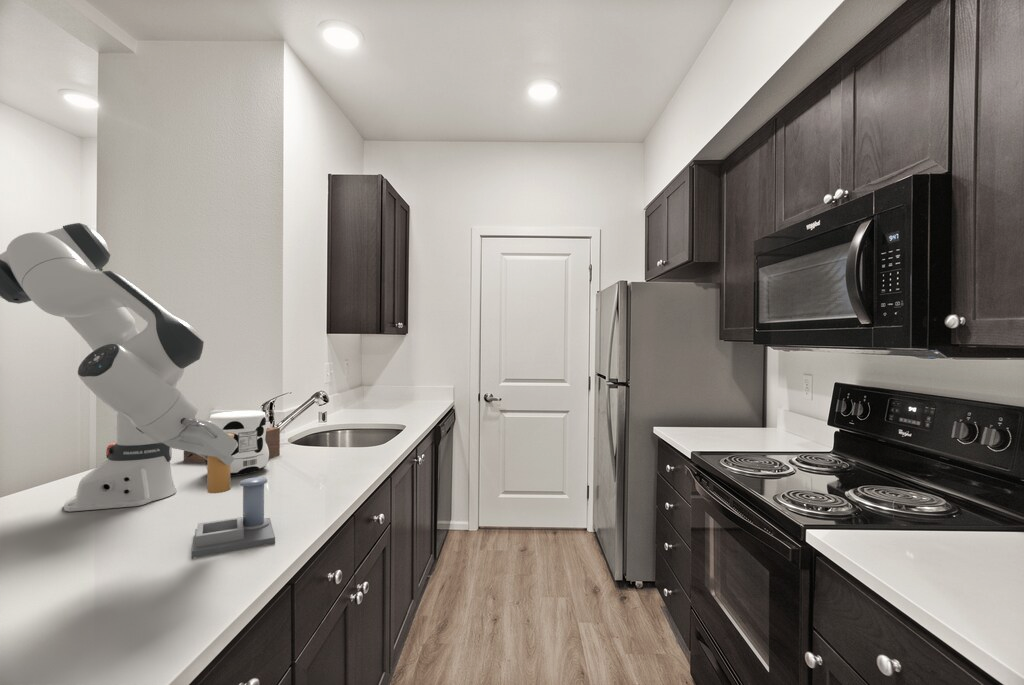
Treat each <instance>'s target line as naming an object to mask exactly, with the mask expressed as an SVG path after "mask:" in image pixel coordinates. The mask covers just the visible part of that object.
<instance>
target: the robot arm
mask: <svg viewBox="0 0 1024 685" xmlns="http://www.w3.org/2000/svg"><path fill="white" fill-rule="evenodd" d="M110 258H111V253H110V250H109V246H108V243H107V242H106V240H105V239H104V238H103V236H102V235H100V234H99V233H98V232H97V231H96V230H95V229H92V228H91V227H89V226H88V225H86V224H83V223H80V222H77V223H70V224H69V223H68V224H66V225H62V227H61V228H57V229H53V230H50V231H47V232H40V231H39V232H38V231H37V232H28V233H22V234H20V235H18V236H17V237H15V238H14V239H12V240H11V241H10V242H9V244H8V245H7V247H6V250H5V251H4V252H1V253H0V298H1V299H3V300H4V301H6V302H8V303H12V304H18V305H19V304H24V303H29V302H31V301H32V302H33V303H34V304H35V305H36V307H38V308H39V309H40V310H42V311H43V312H45V313H46V314H49V315H52V316H56V317H59V318H60V317H61V318H63V319H65V320H66V321H67V322H68V323H69V325H70V326H71V327H72V328H73V329H74V330H75V331H76V332H77V333H78V335H79V336H80V337H81V338H82V339H83V340H84V341H85V342H86V344H88V346H89V347H90V348H91V350H92V352H90V353H89V354H88V355H87V356H86V357H85V358H84V359H83V360H82V361H81V363H80V364H79V365H78V369H77V376H78V377H79V379H80V380H81V382H83V383H84V385H85V386H86V387H87V388H88V389H89V390H90V391H91V392H92V393H93V394H94V395H95V396H96V397H97V398H98V399H100V400H101V402H103V403H104V404H106V405H107V406H108V407H109V408H111V409H112V410H113V411H114V412H117V414H116V443H113V442H112V443H110V444H109V445H108V446H107V447H106V460H105V461H103V462H102V463H101V464H99V465H98V466H96V467H95V468H94V469H92V470H91V471H89V472H88V473H87V474H86V475H85V476H83V477H82V478H81V479H80V481H79V483H78V485H77V488H76V494H75V495H73V496H71V497H70V498H69V499H67V500H66V501H65V502H64V504H63V510H64V511H66V512H79V511H93V510H104V509H105V510H106V509H116V508H117V509H118V508H127V507H128V508H129V507H139V506H143V505H145V504H149V503H150V502H151V503H152V502H154V501H157V500H162V499H165V498H167V497H170V496H172V495H174V494H175V493H176V492H177V488H176V485H175V482H174V479H173V474H172V467H171V460H172V457H173V456H172V455H173V454H172V453H173V451H172V449H174V450H175V449H176V450H179V451H183V452H184V451H189V452H193V453H196V454H198V455H200V456H202V457H204V458H205V459H206V460H207V461H208V456H213V457H217V458H218V459H219V461H220V462H221V463H222V464H224V465H230V464H231V463H232V462H233V461H234V457H232V456H231V454H232V453H233V452H234V450H235V449H236V448H237V447H238V443H237V441H236V440H235V439H234V438H232V437H231V436H230V435H229V434H227V433H226V432H225V431H224V430H222V429H221V428H220V427H218V426H217V425H215V424H214V423H212V422H210V421H209V420H207V419H200V418H199V416H198V415H197V413H198V406H197V405H196V404H195V403H194V402H193V401H192V400H191V399H189V398H188V397H187V396H186V395H185V394H184V393H183V392H182V391H180V390H179V389H178V388H176V387H177V384H178V382H179V381H180V380H181V379H182V377H183V375H184V372H185V368H187V367H189V366H191V365H192V364H194V363H195V362H197V361H199V360H200V359H201V358H202V357H201V356H202V353H203V349H204V341H203V338H202V336H201V334H199V332H198V331H197V330H196V329H195V328H194V327H193V326H192V325H191V324H189V323H188V322H186V321H185V320H183V319H181V318H179V317H177V316H175V315H173V314H172V313H170V312H169V311H168V310H166V308H164V307H163V306H162V305H161V304H159V303H158V302H157V301H155V299H153V298H152V297H150V296H149V295H148V294H147V293H145V292H144V291H143V290H141V289H140V287H137V286H136V284H133V283H131V282H130V281H129V280H127V279H126V278H125V277H123V276H122V275H120V274H119V273H117V272H114V271H112V270H104V269H103V267H105V266H106V265H107V264H108V263H109V261H110ZM127 308H128V309H130V310H131V311H133V312H134V313H135V314H136V315H137V316H139V317H140V318H141V319H143V320H144V321H146V322H147V325H146V327H144V329H143V330H142V331H139V329H138V327H137V325H136V324H137V323H136V319H135V317H134V316H133V315H132V314H131V312H130V311H129V310H128V309H127Z"/></svg>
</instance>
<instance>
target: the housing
mask: <svg viewBox="0 0 1024 685" xmlns="http://www.w3.org/2000/svg"><path fill="white" fill-rule="evenodd" d="M266 483H267V484H268V478H267V477H261V476H260V477H251V478H244V479H241V480H240V481H239V486H241V487H242V516H241V517H240V516H239V517H233V518H226V519H219V520H212V521H206V522H200V523H197V527H196V528H195V531H194V536H193V537H194V538H193V545H192V551H191V552H192V554H191V558H192V559H193V558H200V557H205V556H210V555H217V554H222V553H226V552H228V553H229V552H233V551H238V550H245V549H250V548H257V547H262V546H267V545H275V544H276V535H275V533H274V532H275V531H274V528H273V524H272V521H271V517H265V484H266Z"/></svg>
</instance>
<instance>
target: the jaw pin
mask: <svg viewBox="0 0 1024 685" xmlns="http://www.w3.org/2000/svg"><path fill="white" fill-rule="evenodd" d="M227 434H229V435H230V436H231V437H232V438H234V434H232V433H227ZM206 470H207V473H206V474H207V480H206V482H207V487H206V489H207V490H206V491H207V492H206V493H208V494H221V493H226V492H229V491H230V490H231V476H230V473H231V464H230V465H224V464H222V463H221V462H220V461H219V459H218V458H217V457H213V456H208V463H207V468H206Z"/></svg>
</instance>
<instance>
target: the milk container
mask: <svg viewBox="0 0 1024 685" xmlns="http://www.w3.org/2000/svg"><path fill="white" fill-rule="evenodd" d="M209 416H210V417H209V420H208V421H210V422H212V423H214V424H215V425H217V426H218V427H220V428H221V429H222V430H224V431H225V432H226V433H232V434H234V439H235V440H236V441H237V443H238V447H237V448H236V449H235V450H234V452H233V453H232V454H231V456H232V457H234V461H233V462H232V463H231V473H230V477H233V476H242V475H248V474H252V473H256V472H258V471H261V470H264V469H265V468H266V467H267V465H268V463H269V460H270V458H269V449H268V446H267V442H266V427H267V424H266V422H267V418H266V417H267V416H266V412H265V411H260V410H239V411H238V410H237V411H226V412H218V413H213V414H211V415H209ZM204 463H205V468H206V469H207V463H208V461H207V460H206V459H205V462H204Z"/></svg>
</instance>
